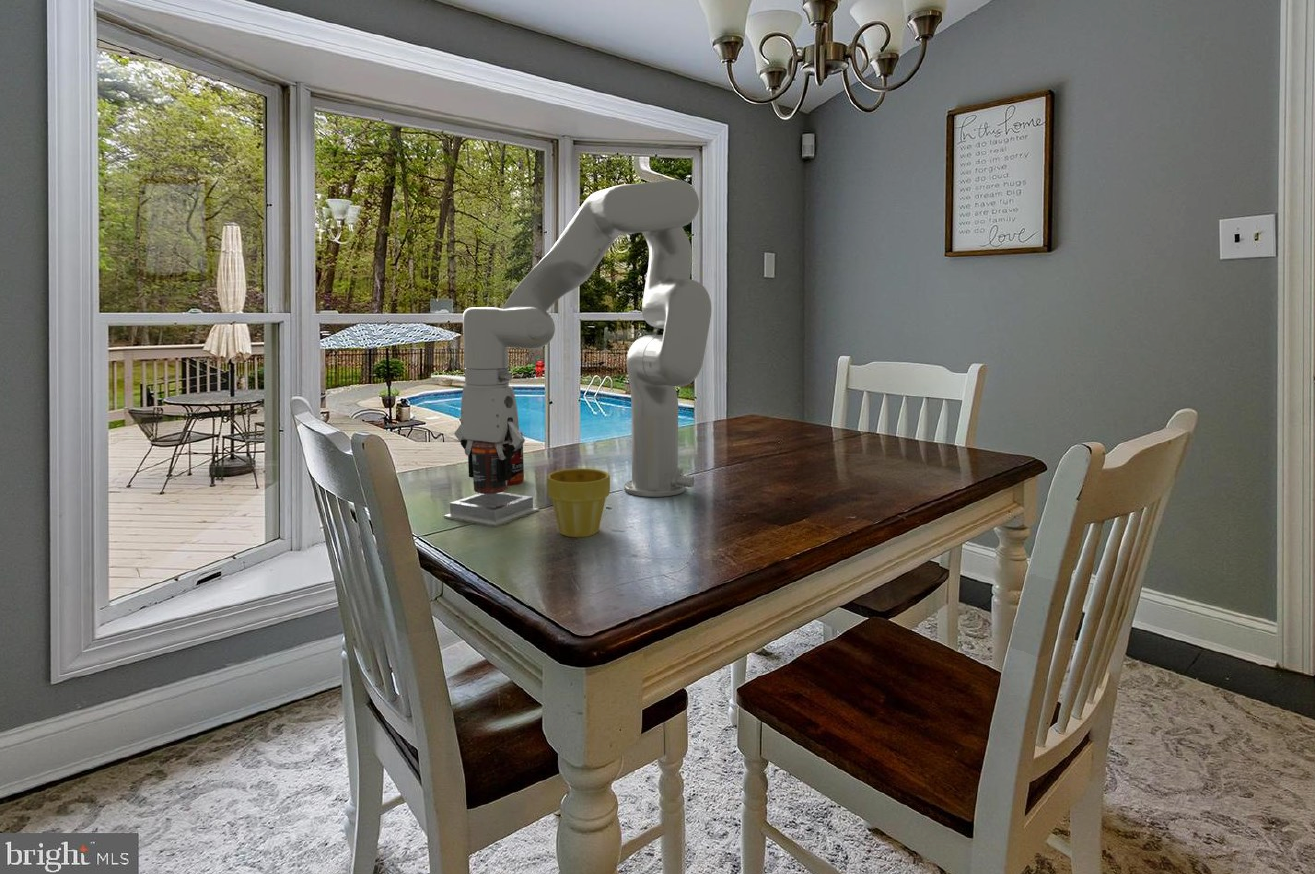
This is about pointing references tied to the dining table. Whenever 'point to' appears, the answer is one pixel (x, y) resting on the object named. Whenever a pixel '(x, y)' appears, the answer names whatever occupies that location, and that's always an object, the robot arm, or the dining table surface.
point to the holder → (491, 508)
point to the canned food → (517, 466)
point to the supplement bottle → (486, 468)
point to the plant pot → (578, 499)
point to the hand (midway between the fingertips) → (490, 477)
